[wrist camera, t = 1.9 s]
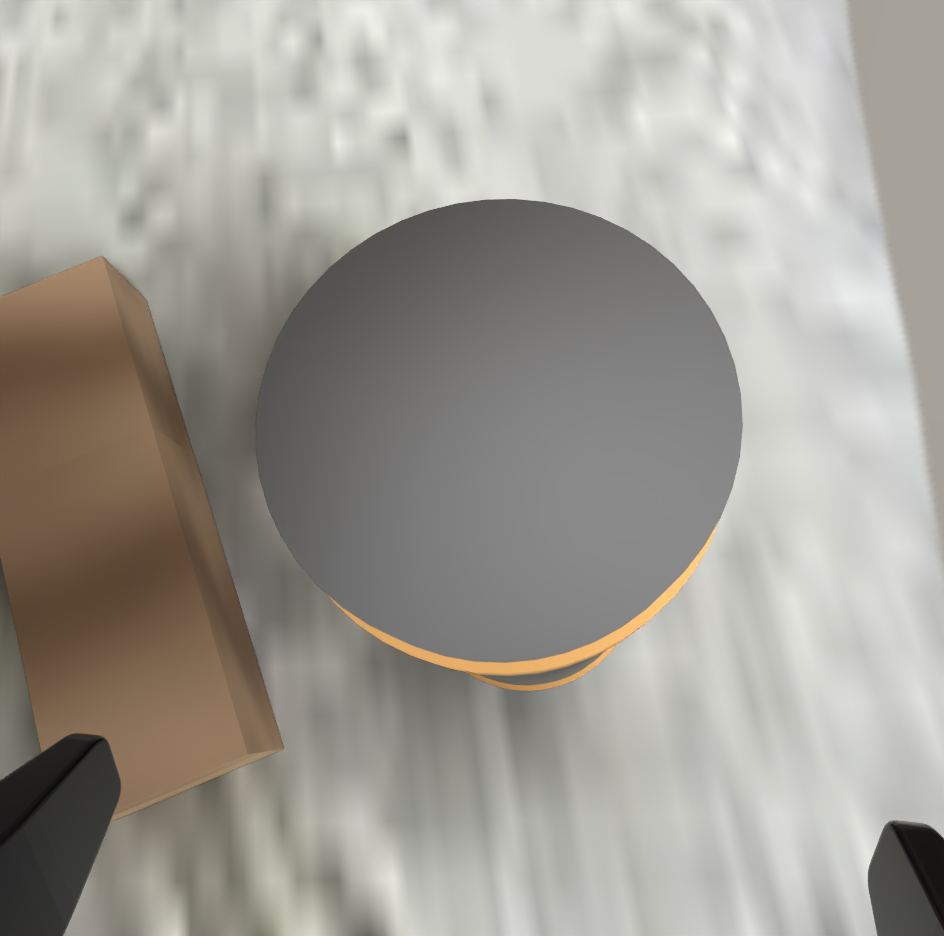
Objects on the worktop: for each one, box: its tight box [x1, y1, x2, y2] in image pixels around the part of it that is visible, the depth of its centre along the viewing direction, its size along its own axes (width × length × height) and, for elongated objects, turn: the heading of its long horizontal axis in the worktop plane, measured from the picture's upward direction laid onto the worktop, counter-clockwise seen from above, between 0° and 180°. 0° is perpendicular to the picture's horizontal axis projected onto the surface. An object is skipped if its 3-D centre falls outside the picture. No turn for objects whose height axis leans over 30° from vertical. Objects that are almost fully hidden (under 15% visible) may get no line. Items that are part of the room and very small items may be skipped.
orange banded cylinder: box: [256, 199, 743, 691], centre depth 14 cm, size 5×5×13 cm
